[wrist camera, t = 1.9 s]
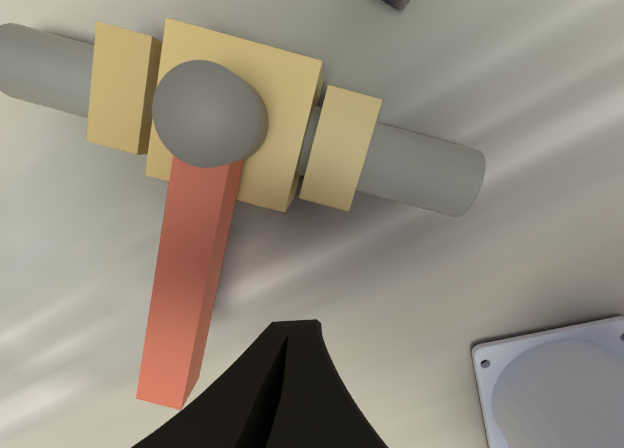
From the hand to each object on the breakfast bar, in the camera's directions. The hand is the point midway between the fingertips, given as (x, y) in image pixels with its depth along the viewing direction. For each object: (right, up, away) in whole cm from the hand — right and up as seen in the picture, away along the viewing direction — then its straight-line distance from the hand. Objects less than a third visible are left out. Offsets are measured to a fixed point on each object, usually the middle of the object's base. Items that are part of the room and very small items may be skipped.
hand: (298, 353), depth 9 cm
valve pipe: (-2, +8, +7) cm, 11 cm away
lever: (-4, +3, +4) cm, 6 cm away
